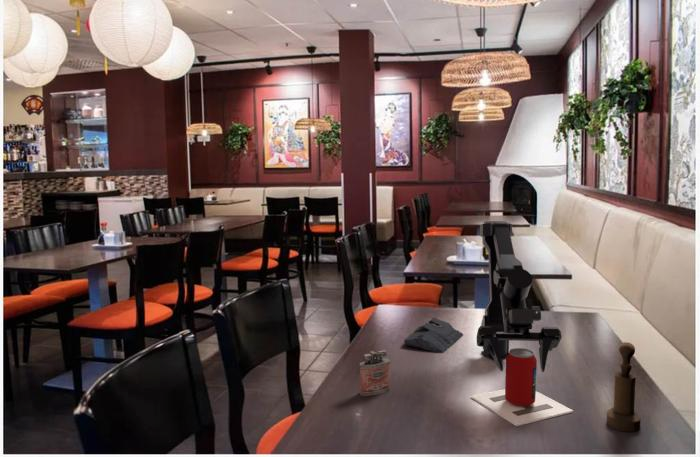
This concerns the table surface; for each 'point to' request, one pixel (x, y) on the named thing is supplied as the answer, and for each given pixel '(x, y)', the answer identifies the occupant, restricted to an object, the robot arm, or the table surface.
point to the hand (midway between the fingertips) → (522, 370)
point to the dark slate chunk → (434, 336)
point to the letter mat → (518, 414)
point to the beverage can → (520, 377)
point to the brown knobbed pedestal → (624, 395)
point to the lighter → (374, 373)
